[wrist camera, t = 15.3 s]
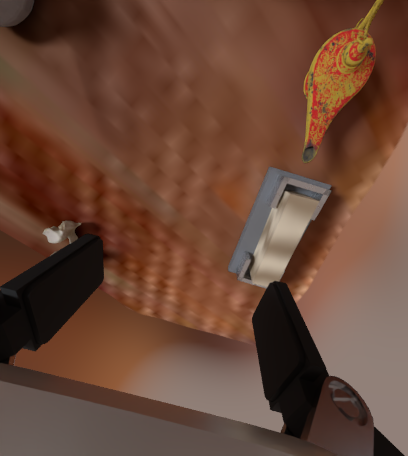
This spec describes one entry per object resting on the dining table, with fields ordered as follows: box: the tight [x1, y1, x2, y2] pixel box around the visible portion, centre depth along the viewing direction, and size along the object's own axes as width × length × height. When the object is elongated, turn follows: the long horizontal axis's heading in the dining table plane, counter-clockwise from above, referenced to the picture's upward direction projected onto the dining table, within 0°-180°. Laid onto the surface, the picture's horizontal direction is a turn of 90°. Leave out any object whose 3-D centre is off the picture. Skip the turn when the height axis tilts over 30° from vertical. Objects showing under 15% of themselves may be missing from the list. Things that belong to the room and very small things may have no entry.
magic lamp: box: [302, 0, 384, 163], centre depth 20 cm, size 7×18×11 cm, turn 163°
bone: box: [43, 221, 81, 255], centre depth 34 cm, size 9×6×10 cm
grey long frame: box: [236, 174, 331, 289], centre depth 30 cm, size 20×7×3 cm, turn 164°
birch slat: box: [249, 189, 319, 287], centre depth 29 cm, size 16×4×5 cm, turn 167°
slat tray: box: [228, 167, 331, 273], centre depth 32 cm, size 21×10×2 cm, turn 164°
